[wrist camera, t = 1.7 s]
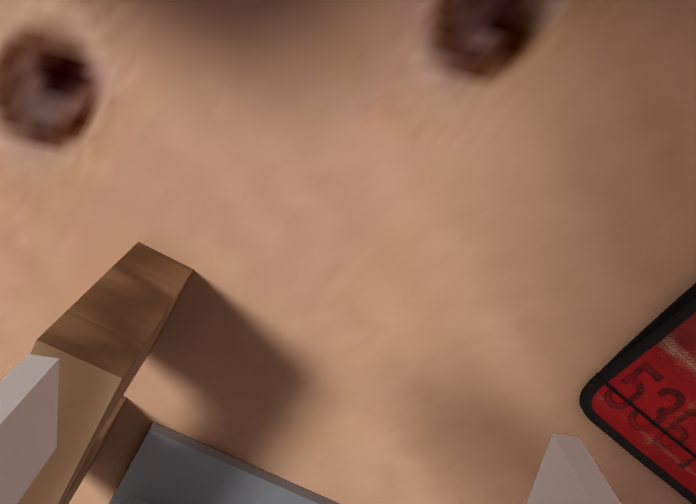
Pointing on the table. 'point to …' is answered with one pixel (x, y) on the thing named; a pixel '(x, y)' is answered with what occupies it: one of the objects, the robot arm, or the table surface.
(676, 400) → the black and red tablet
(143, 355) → the brown rectangular block
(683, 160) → the table surface
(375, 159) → the table surface
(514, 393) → the table surface
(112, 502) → the stand board
